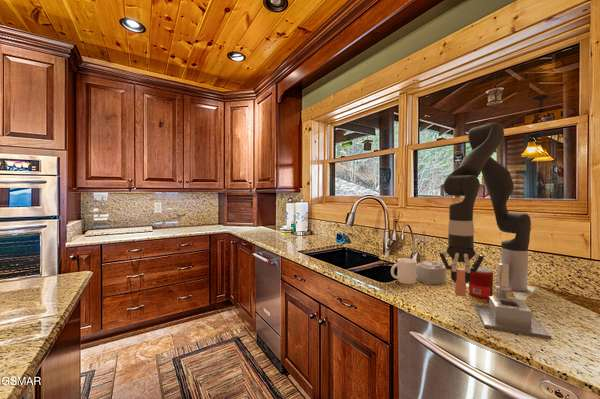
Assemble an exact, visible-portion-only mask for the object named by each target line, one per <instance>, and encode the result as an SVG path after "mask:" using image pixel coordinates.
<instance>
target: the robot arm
mask: <svg viewBox="0 0 600 399" xmlns="http://www.w3.org/2000/svg"><path fill="white" fill-rule="evenodd" d="M467 138H468V143H469V147H470V148H471V151H470V152H469V153H467V155H465V156H464V158H463V159H462V161H461V163H460V164H459V165H458V167H457V168H456V169H454V170H453V171H452V172H451V173H450V174H449V175H448V176H447V177H446V178H445V179H444V182H443V186H442V187H443V190H444V192H445V194H446V195H448V196H454V197H455V196H456V197H457V196H458V197H464V198H463V199H462V200H461V201H459V202H453V203H451V204H450V205H449V207H448V210H449V214H448V216H449V220H448V228H447V230H448V237H447V238H448V241H447V244H448V246H447V248H446V250H444V251H439V252H438V253H439V254H438V255H439V256H440V258H441V261H442V264H444V265H445V267H446V270H449V271H450V279H451V281H453V283H455V282H456V268H457V265H458V263H463V264H464V269H465V281H466V284H469V282H470V273H471V272H476V271H477V270H478V268H479V267H481V264H482V263H483V260H484V259H485V258H484V255H482V254H479V253H477V252H476V251H475V248H474V245H475V244H474V243H475V242H474V241H475V240H474V239H475V236H474V234H475V228H474V208H475V207H474V206H475V203H476V199H477V196H478V194H479V191H480V186H481V182H480V180H479V176H480V175H482V177H483V181H484V184H485V187H486V189H487V193H488V195H489V197H490V201H491V205H492V208H493V213H494V217H495V222H496V225H497V228H498V230H499V231H501V232H503V233H507V234H513V235H515V236H514V237H513V238H512V239H507V240H503V241H501V245H500V246H501V247H500V248H501V249H500V250H501V251H500V256H501V257H500V263H506V264H508V265H509V272H508V286H509V287H511V291H517V292H526V291H528V279H529V278H528V275H529V274H528V273H529V270H528V269H529V267H528V266H529V246H530V242H531V241H530V240H531V238H530V237H531V229H532V228H531V227H532V220H531V217H530V215H529V214H527V213H524V212H512V211H511V212H510V211H509V210H508V207H507V203H508V200H509V198H510V197H511V195H512V193H513V191H514V189H515V185H514V181H513V177H512V175H511V172H510V171H509V170H508V168H507V167H505V166H504V165H503V164H501V163H499V161H497V160H496V159H494V158H493V157H492V155H493V154H494V153H495V152H496V150H498V148H499V147H500V146H501V145H502V143H503V142H504V139H505V130H504V127H503V125H502V124H501V123H499V122H492V123H486V124H482V125H479V126H476V127H472V128H470V129H469V130H468V133H467ZM447 255H448V256H449V257H450V258H451V265H450V264H449V263H448V261H447V259H446V258H447V257H448V256H447ZM472 258H474V260H475V261H474V263H472V266H471V265H470V261H471V260H472Z"/></svg>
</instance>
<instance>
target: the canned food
mask: <svg viewBox="0 0 600 399" xmlns="http://www.w3.org/2000/svg"><path fill="white" fill-rule="evenodd" d="M493 283H494V270H493V269H491V268H489V267H486V266H479V268H478V270H477V271H476V272H471V273H470V282H468V292H469V295H471V296H472V297H475V298H478V299H484V300H485V299H486V300H489V296H492V297H493V289H494V284H493Z"/></svg>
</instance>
